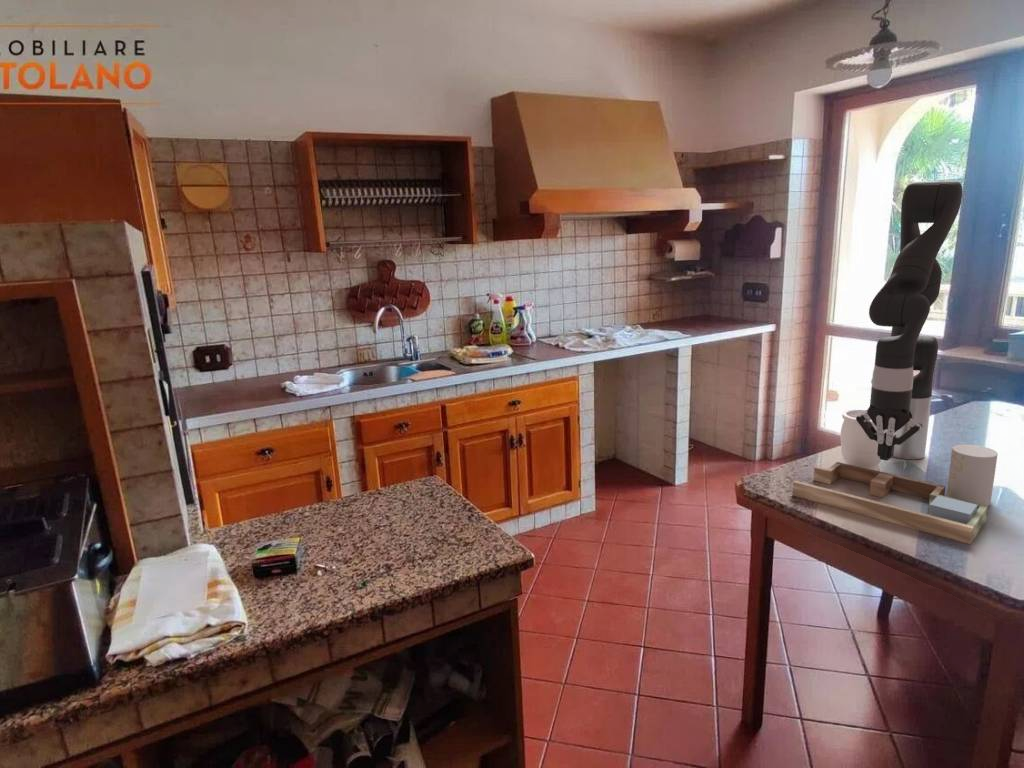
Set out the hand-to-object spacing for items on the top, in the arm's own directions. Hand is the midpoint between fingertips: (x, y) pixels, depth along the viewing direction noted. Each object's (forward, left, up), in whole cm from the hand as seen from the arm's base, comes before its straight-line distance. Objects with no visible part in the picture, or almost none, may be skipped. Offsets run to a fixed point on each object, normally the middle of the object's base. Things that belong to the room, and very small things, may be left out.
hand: (884, 458), depth 133 cm
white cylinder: (-16, +13, -12) cm, 24 cm away
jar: (-20, -11, -12) cm, 26 cm away
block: (0, +14, -12) cm, 18 cm away
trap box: (-3, +1, -12) cm, 12 cm away
